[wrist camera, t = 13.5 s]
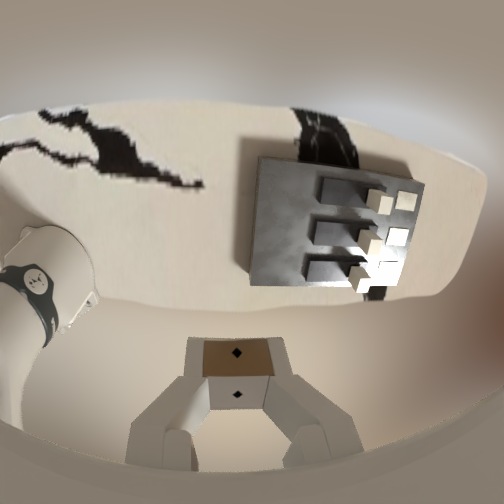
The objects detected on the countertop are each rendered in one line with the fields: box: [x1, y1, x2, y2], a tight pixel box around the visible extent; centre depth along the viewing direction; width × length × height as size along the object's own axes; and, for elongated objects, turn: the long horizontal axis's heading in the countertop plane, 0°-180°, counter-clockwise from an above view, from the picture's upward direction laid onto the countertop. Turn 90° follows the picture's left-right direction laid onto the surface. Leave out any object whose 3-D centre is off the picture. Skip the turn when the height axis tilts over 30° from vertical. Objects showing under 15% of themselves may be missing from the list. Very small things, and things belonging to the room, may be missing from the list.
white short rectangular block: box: [348, 266, 372, 293], centre depth 35 cm, size 2×2×3 cm
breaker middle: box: [357, 229, 383, 256], centre depth 33 cm, size 2×2×3 cm
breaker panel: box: [249, 156, 425, 286], centre depth 36 cm, size 24×17×4 cm
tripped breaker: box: [366, 189, 394, 215], centre depth 30 cm, size 2×2×3 cm
